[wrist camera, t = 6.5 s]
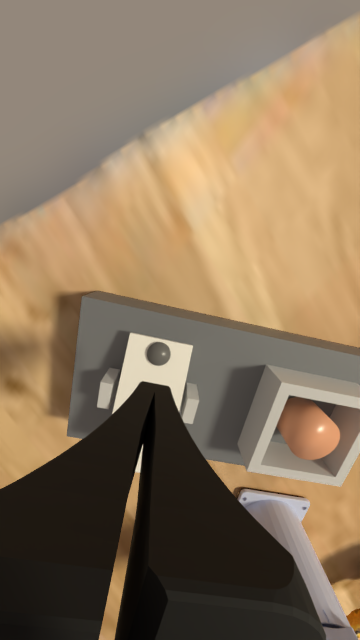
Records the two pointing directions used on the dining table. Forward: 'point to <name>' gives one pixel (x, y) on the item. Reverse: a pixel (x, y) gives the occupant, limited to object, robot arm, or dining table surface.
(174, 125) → the dining table surface
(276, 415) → the grey board with tray
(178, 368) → the rocker switch
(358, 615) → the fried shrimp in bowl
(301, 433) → the button
